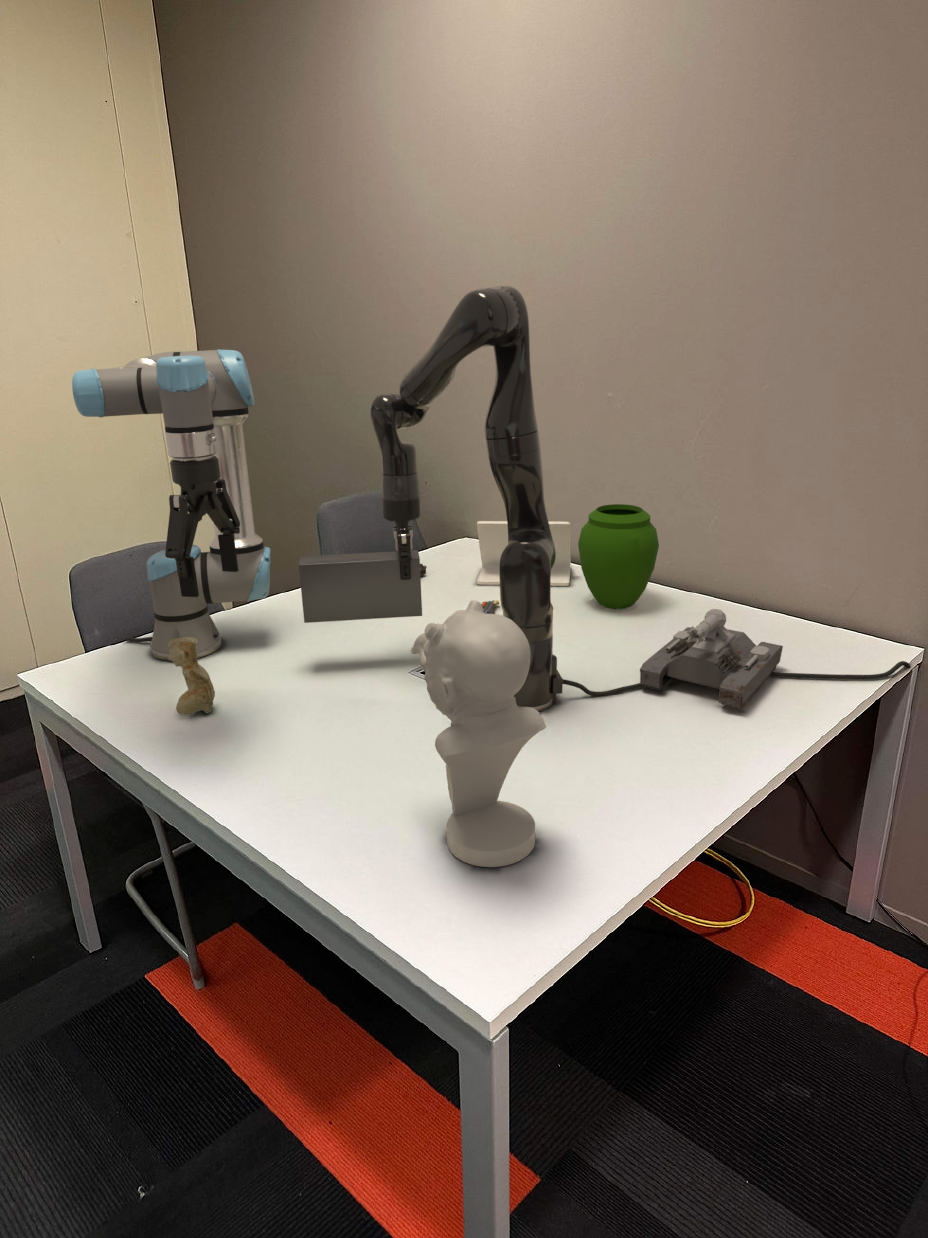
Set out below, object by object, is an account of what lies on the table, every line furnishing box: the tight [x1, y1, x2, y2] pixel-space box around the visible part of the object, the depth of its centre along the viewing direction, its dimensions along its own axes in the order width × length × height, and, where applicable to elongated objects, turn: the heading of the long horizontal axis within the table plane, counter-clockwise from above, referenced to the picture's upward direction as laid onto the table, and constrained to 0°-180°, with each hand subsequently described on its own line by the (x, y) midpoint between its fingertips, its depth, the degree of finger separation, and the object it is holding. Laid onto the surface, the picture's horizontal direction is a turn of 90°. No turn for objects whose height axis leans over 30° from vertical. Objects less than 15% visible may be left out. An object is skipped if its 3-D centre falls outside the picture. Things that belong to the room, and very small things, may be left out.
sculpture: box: [168, 637, 216, 716], centre depth 162 cm, size 6×7×15 cm
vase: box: [577, 503, 660, 610], centre depth 210 cm, size 20×20×24 cm
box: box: [298, 549, 423, 624], centre depth 177 cm, size 24×6×12 cm, turn 96°
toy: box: [639, 608, 784, 710], centre depth 169 cm, size 25×20×15 cm
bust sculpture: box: [410, 599, 547, 868], centre depth 121 cm, size 16×24×35 cm
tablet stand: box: [476, 520, 572, 587], centre depth 236 cm, size 18×25×17 cm
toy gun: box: [481, 599, 500, 614], centre depth 208 cm, size 3×19×10 cm
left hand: (211, 583), depth 144 cm, fingers open, 13 cm apart
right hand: (405, 574), depth 177 cm, fingers closed on box, 6 cm apart
